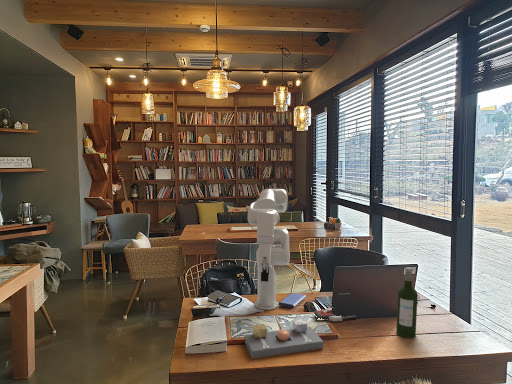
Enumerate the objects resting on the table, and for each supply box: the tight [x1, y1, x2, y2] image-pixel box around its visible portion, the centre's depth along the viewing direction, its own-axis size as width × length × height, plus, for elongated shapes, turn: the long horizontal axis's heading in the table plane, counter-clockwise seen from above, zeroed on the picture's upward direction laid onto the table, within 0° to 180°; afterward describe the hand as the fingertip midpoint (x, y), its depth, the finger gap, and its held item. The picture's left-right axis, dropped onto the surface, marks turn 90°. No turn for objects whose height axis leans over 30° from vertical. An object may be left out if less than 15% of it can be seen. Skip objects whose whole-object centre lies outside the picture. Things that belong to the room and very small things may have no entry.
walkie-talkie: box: [313, 307, 357, 322], centre depth 169 cm, size 9×4×20 cm
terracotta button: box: [277, 328, 289, 342], centre depth 143 cm, size 5×5×3 cm
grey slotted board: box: [243, 326, 324, 360], centre depth 143 cm, size 13×30×3 cm, turn 105°
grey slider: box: [292, 318, 308, 333], centre depth 149 cm, size 4×5×4 cm
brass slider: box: [252, 323, 268, 338], centre depth 144 cm, size 4×5×4 cm
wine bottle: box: [396, 266, 419, 339], centre depth 152 cm, size 8×8×30 cm
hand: (265, 277), depth 151 cm, fingers open, 9 cm apart
